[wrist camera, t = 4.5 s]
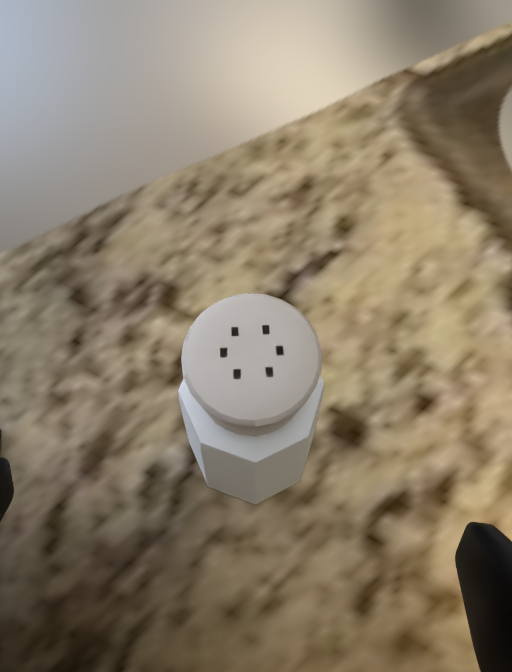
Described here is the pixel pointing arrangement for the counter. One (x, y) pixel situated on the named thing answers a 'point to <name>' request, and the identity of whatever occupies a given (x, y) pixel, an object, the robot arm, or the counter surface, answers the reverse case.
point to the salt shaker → (251, 394)
